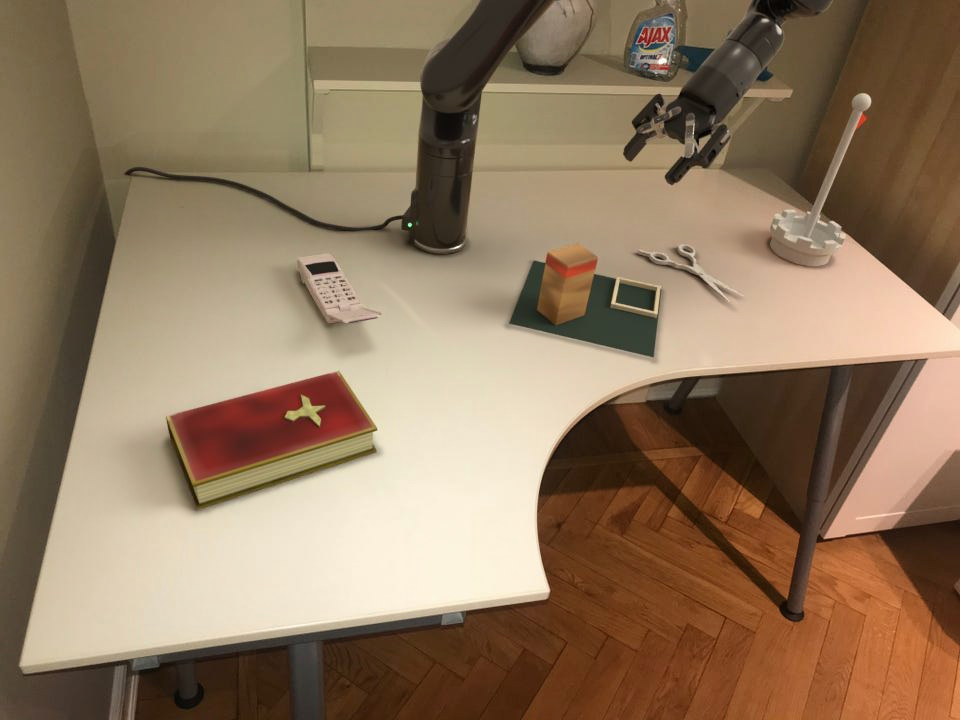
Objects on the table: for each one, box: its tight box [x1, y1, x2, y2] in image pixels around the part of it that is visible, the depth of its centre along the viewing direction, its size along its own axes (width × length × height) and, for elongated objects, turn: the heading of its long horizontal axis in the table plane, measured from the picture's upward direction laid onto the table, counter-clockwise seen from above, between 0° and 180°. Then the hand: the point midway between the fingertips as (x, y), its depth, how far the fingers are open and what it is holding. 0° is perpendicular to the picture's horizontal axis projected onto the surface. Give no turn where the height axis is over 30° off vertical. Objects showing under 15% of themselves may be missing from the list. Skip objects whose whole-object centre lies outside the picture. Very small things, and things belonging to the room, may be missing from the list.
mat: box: [508, 260, 662, 358], centre depth 121 cm, size 22×20×1 cm
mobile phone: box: [296, 253, 383, 324], centre depth 113 cm, size 6×6×25 cm
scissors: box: [637, 243, 748, 305], centre depth 133 cm, size 11×1×20 cm
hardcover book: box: [165, 370, 378, 511], centre depth 89 cm, size 12×21×4 cm, turn 121°
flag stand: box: [769, 92, 872, 267], centre depth 136 cm, size 13×13×30 cm
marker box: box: [537, 242, 599, 325], centre depth 116 cm, size 5×6×10 cm
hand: (646, 169), depth 111 cm, fingers open, 8 cm apart
